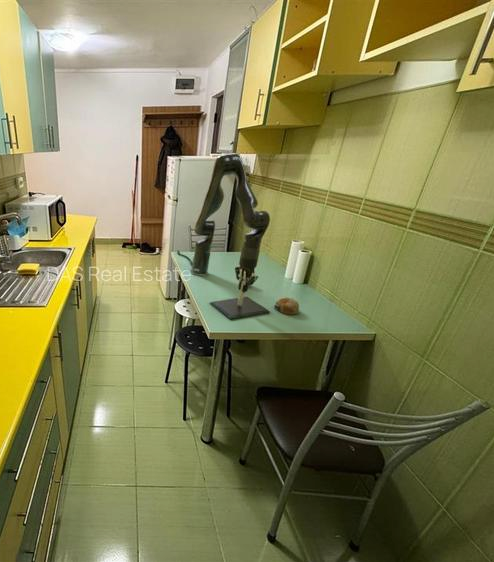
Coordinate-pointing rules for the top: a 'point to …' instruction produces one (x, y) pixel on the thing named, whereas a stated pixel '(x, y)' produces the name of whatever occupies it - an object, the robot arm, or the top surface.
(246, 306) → the plate
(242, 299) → the stylus
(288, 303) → the bread roll
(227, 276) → the top surface
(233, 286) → the top surface
